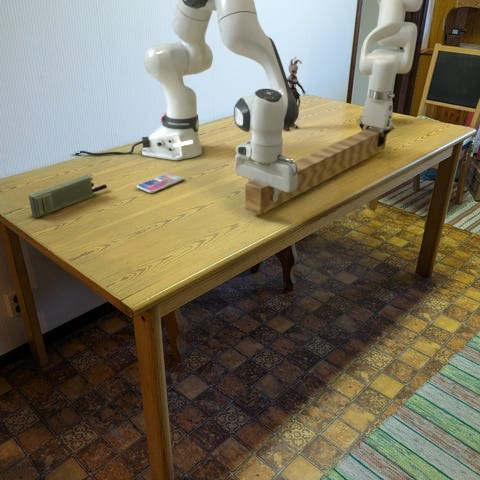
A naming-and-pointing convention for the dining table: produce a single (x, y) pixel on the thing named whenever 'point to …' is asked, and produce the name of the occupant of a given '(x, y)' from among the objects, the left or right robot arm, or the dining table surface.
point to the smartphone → (159, 182)
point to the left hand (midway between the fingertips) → (264, 197)
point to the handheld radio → (62, 195)
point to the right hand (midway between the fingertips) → (372, 143)
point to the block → (317, 168)
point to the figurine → (293, 80)
